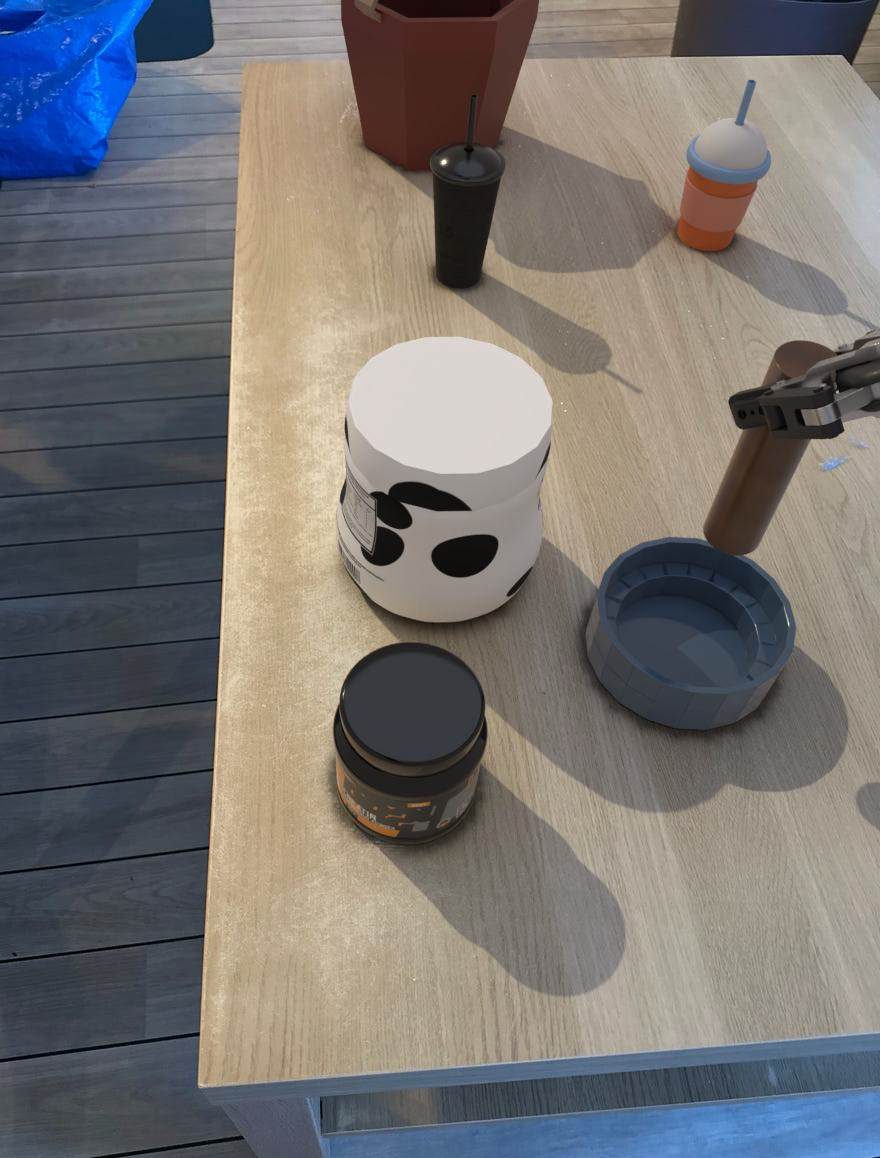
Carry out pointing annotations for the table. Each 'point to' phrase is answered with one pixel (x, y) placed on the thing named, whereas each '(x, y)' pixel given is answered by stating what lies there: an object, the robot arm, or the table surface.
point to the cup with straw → (722, 179)
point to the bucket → (433, 70)
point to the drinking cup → (464, 205)
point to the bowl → (688, 633)
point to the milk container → (443, 478)
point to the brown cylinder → (760, 464)
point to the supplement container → (409, 742)
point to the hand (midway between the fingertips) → (761, 397)
